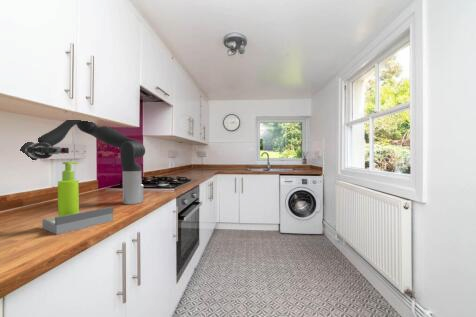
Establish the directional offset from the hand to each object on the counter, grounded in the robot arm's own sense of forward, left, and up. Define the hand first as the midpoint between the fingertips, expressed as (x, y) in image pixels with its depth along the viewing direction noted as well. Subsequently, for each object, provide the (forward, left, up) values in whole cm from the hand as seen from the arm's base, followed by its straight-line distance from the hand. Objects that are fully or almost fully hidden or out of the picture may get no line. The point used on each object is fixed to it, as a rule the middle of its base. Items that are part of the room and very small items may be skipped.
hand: (54, 149), depth 96 cm
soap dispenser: (+4, +24, -25) cm, 35 cm away
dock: (+1, +25, -28) cm, 38 cm away
